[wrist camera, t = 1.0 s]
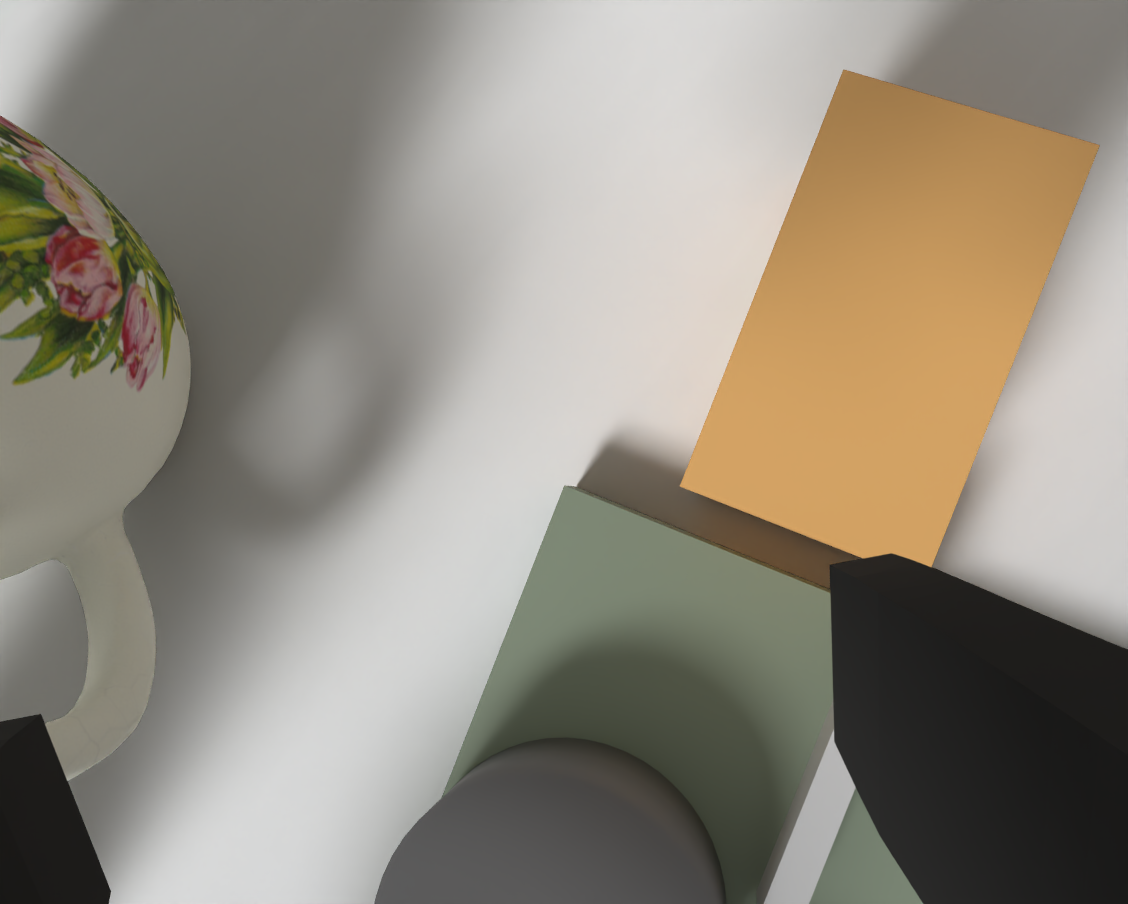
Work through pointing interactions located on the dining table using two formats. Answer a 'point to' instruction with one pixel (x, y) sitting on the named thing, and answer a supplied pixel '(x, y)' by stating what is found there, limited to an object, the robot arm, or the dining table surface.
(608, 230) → the dining table surface
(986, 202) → the tan rectangular prism
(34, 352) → the pitcher
